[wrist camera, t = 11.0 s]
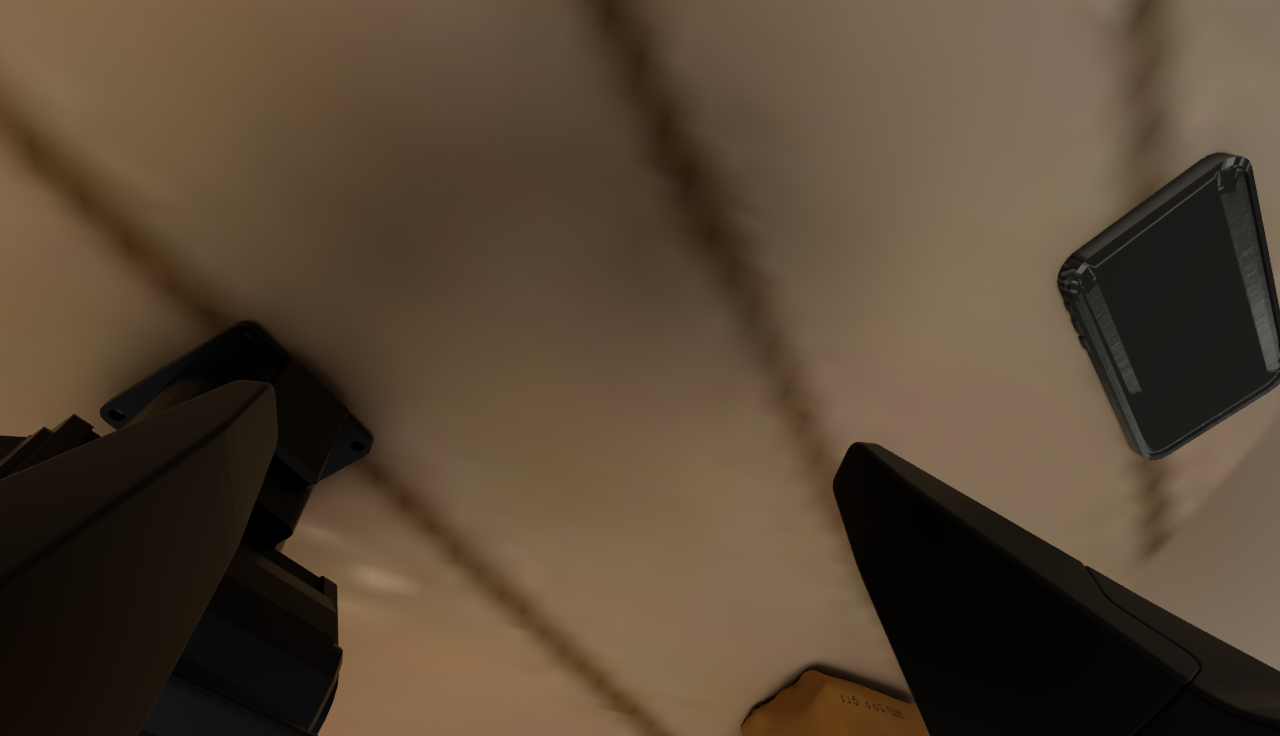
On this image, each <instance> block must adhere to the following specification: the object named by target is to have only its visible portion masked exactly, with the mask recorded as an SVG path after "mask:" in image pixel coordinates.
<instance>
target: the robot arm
mask: <svg viewBox="0 0 1280 736" xmlns="http://www.w3.org/2000/svg"><path fill="white" fill-rule="evenodd" d="M240 333H246V334H248V335H249V336H250V337H251V338H252V341H248V340H245V339H243V338H242V337H241V335H240ZM115 409H118V410H120V411H122V412H123V413H124V414H125V415H123V414H120V413H118V412H117V411H116V410H115ZM100 415H101V417H102V419H103V420H104V421H105V422H107V423H108V424H109V425H111V426H112V427H113V428H115V429H116V430H117V431H115V432H112V433H110V434H108V435H105V436H103V437H101V436H99V435H98V434H96V433H94V432H93V431H91V430H92V429H93V428H94V426H92V425H90V424H89V423H87V422H86V421H84V420H83V419H81V418H80V417H78V416H77V415H75V414H73V415H72V416H70V417H69V418H67V419H66V420H65V421H63V422H62V423H61V424H59V425H58V426H57V427H55V428H54V429H53V430H49V429H47V428H46V427H43V428H41V429H40V430H39V431H37V432H36V433H34V434H33V435H29V436H28V437H14V436H0V736H318V735H317V734H318V732H319V730H320V728H321V727H322V725H323V723H324V721H325V719H326V717H327V715H328V712H329V710H330V708H331V705H332V703H333V700H334V697H335V693H336V689H337V686H338V677H339V670H340V668H341V665H342V657H343V650H342V648H341V647H339V646H338V609H337V585H336V584H335V583H333V582H332V581H330V580H329V579H327V578H326V577H324V576H321V577H317V576H316V575H314V574H313V573H311V572H310V571H308V570H307V569H305V568H304V567H302V566H300V565H299V564H297V563H296V562H294V561H293V560H291V559H290V558H288V557H287V556H285V555H283V554H282V553H280V552H281V550H282V548H283V546H284V544H285V542H286V539H287V538H289V537H290V536H291V535H292V534H293V532H294V530H295V528H296V525H297V523H298V521H299V519H300V516H301V514H302V512H303V510H304V508H305V505H306V503H307V501H308V499H309V497H310V494H311V492H312V490H313V488H314V485H316V484H317V483H318V482H319V481H320V480H322V479H324V478H326V477H327V476H329V475H331V474H333V473H335V472H336V471H338V470H340V469H342V468H344V467H345V466H347V465H349V464H351V463H353V462H354V461H356V460H358V459H360V458H362V457H363V456H365V455H367V454H368V453H369V452H370V450H371V448H372V445H373V437H372V436H371V435H370V433H368V432H367V431H366V430H365V429H364V428H363V427H362V426H361V425H360V424H359V423H358V422H357V421H356V420H355V419H354V418H353V417H352V416H351V415H350V414H349V413H348V410H347V408H346V407H345V406H344V405H343V404H342V403H341V402H340V401H339V400H338V399H337V398H336V397H335V396H334V395H333V394H332V393H330V392H329V391H328V390H327V389H326V388H325V387H324V386H323V385H322V384H321V383H320V382H319V381H318V380H317V379H316V378H315V377H314V376H313V375H312V374H311V373H310V372H309V371H308V370H307V369H306V368H305V367H304V366H303V365H302V364H300V363H298V362H295V361H294V360H293V359H292V358H291V357H290V356H289V355H288V354H287V353H286V352H285V351H284V350H283V349H282V348H281V347H280V346H279V345H278V344H277V343H276V342H275V341H274V340H273V339H272V338H271V337H270V336H268V335H267V334H266V333H265V332H264V331H263V330H262V329H261V328H260V327H259V326H258V325H256V324H255V323H252V322H249V321H241V322H238V323H236V324H234V325H233V326H231V327H229V328H228V329H226V330H224V331H223V332H221V333H219V334H218V335H216V336H214V337H213V338H211V339H209V340H208V341H206V342H204V343H203V344H201V345H199V346H198V347H196V348H195V349H193V350H191V351H190V352H188V353H186V354H185V355H183V356H181V357H180V358H178V359H176V360H175V361H173V362H171V363H170V364H168V365H166V366H165V367H163V368H161V369H160V370H158V371H156V372H155V373H153V374H151V375H150V376H148V377H146V378H145V379H143V380H141V381H140V382H138V383H136V384H135V385H133V386H131V387H130V388H128V389H126V390H125V391H123V392H121V393H120V394H118V395H116V396H115V397H113V398H111V399H110V400H109V401H108V402H107V403H106V404H105V405H104V406H103V407H102V408H101V409H100ZM354 441H360V442H362V443H363V444H364V445H356V444H355V443H354ZM833 492H834V496H835V499H836V502H837V505H838V508H839V512H840V515H841V518H842V521H843V524H844V527H845V530H846V533H847V537H848V540H849V543H850V546H851V549H852V552H853V555H854V558H855V561H856V564H857V567H858V570H859V572H860V575H861V577H862V580H863V582H864V585H865V587H866V589H867V592H868V594H869V596H870V599H871V601H872V603H873V605H874V608H875V610H876V612H877V615H878V617H879V619H880V622H881V624H882V626H883V629H884V631H885V633H886V636H887V638H888V640H889V643H890V645H891V647H892V650H893V652H894V654H895V656H896V659H897V661H898V663H899V666H900V668H901V670H902V673H903V675H904V677H905V680H906V682H907V684H908V687H909V689H910V691H911V694H912V696H913V698H914V701H915V703H916V705H917V708H918V710H919V712H920V714H921V717H922V719H923V721H924V724H925V726H926V728H927V731H928V733H929V735H930V736H1280V671H1278V670H1276V669H1274V668H1273V667H1271V666H1268V665H1267V664H1265V663H1263V662H1261V661H1259V660H1257V659H1256V658H1254V657H1252V656H1250V655H1248V654H1246V653H1244V652H1243V651H1241V650H1239V649H1237V648H1235V647H1233V646H1231V645H1229V644H1228V643H1226V642H1224V641H1222V640H1220V639H1218V638H1216V637H1214V636H1213V635H1211V634H1209V633H1207V632H1205V631H1203V630H1201V629H1199V628H1198V627H1196V626H1194V625H1192V624H1190V623H1188V622H1186V621H1185V620H1183V619H1181V618H1179V617H1177V616H1176V615H1174V614H1172V613H1170V612H1168V611H1166V610H1165V609H1163V608H1161V607H1159V606H1157V605H1155V604H1153V603H1152V602H1150V601H1148V600H1147V599H1145V598H1143V597H1141V596H1139V595H1137V594H1136V593H1134V592H1132V591H1131V590H1129V589H1127V588H1125V587H1124V586H1122V585H1120V584H1118V583H1117V582H1115V581H1113V580H1111V579H1110V578H1108V577H1106V576H1104V575H1103V574H1101V573H1099V572H1097V571H1096V570H1094V569H1092V568H1091V567H1089V566H1084V565H1083V563H1082V562H1080V561H1078V560H1077V559H1075V558H1073V557H1071V556H1070V555H1068V554H1066V553H1065V552H1063V551H1061V550H1059V549H1058V548H1056V547H1054V546H1052V545H1051V544H1049V543H1047V542H1046V541H1044V540H1042V539H1040V538H1039V537H1037V536H1035V535H1034V534H1032V533H1030V532H1028V531H1027V530H1025V529H1023V528H1021V527H1020V526H1018V525H1016V524H1015V523H1013V522H1011V521H1009V520H1008V519H1006V518H1004V517H1002V516H1001V515H999V514H997V513H996V512H994V511H992V510H990V509H989V508H987V507H985V506H984V505H982V504H980V503H978V502H977V501H975V500H973V499H971V498H970V497H968V496H966V495H965V494H963V493H961V492H959V491H958V490H956V489H954V488H952V487H951V486H949V485H947V484H946V483H944V482H942V481H940V480H939V479H937V478H935V477H933V476H932V475H930V474H928V473H927V472H925V471H923V470H921V469H920V468H918V467H916V466H915V465H913V464H911V463H909V462H908V461H906V460H904V459H902V458H901V457H899V456H897V455H896V454H894V453H892V452H890V451H889V450H887V449H885V448H883V447H882V446H880V445H878V444H874V443H865V442H855V443H853V444H852V445H851V446H850V447H849V448H848V450H847V452H846V454H845V456H844V458H843V460H842V463H841V465H840V467H839V469H838V471H837V473H836V475H835V477H834V481H833Z"/></svg>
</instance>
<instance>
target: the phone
mask: <svg viewBox="0 0 1280 736" xmlns="http://www.w3.org/2000/svg"><path fill="white" fill-rule="evenodd" d="M1057 283H1058V287H1059V290H1060V292H1061V295H1062V297H1063V299H1064V301H1065V303H1066V306H1067V309H1068V311H1069V312H1070V314H1071V317H1072V319H1073V323H1074V325H1075V327H1076V329H1077V332H1078V334H1080V337H1081V338H1080V339H1081V342H1082V344H1083V346H1084V348H1085V350H1087V352H1088V354H1089V357H1090V359H1091V361H1092V363H1093V365H1094V368H1095V370H1096V372H1097V374H1098V376H1099V379H1100V381H1101V383H1102V385H1103V388H1104V390H1105V392H1106V394H1107V396H1108V399H1109V401H1110V403H1111V405H1112V408H1113V410H1114V412H1115V414H1116V416H1117V419H1118V421H1119V423H1120V425H1121V427H1122V430H1123V432H1124V434H1125V436H1126V439H1127V441H1128V443H1129V445H1130V447H1131V448H1132V449H1133V450H1134V451H1135V452H1136V453H1138V454H1139V455H1141V456H1142V457H1144V458H1145V459H1147V460H1158V459H1161V458H1163V457H1165V456H1167V455H1169V454H1171V453H1172V452H1174V451H1176V450H1177V449H1179V448H1180V447H1182V446H1183V445H1185V444H1187V443H1188V442H1190V441H1191V440H1193V439H1195V438H1196V437H1198V436H1199V435H1201V434H1203V433H1204V432H1206V431H1207V430H1209V429H1211V428H1212V427H1214V426H1215V425H1217V424H1219V423H1220V422H1222V421H1223V420H1225V419H1227V418H1228V417H1230V416H1231V415H1233V414H1235V413H1236V412H1238V411H1239V410H1241V409H1243V408H1244V407H1246V406H1247V405H1249V404H1251V403H1252V402H1254V401H1255V400H1257V399H1259V398H1260V397H1262V396H1263V395H1265V394H1267V393H1268V392H1270V391H1271V390H1273V389H1274V388H1275V387H1277V386H1278V385H1279V384H1280V309H1279V304H1278V298H1277V293H1276V288H1275V283H1274V278H1273V273H1272V267H1271V262H1270V257H1269V252H1268V247H1267V242H1266V237H1265V231H1264V226H1263V221H1262V216H1261V211H1260V206H1259V201H1258V195H1257V190H1256V185H1255V180H1254V175H1253V170H1252V166H1251V163H1250V161H1249V160H1248V159H1246V158H1245V157H1242V156H1237V155H1231V154H1226V153H1215V154H1211V155H1208V156H1207V157H1205V158H1203V159H1201V160H1200V161H1198V162H1197V163H1196V164H1194V165H1193V166H1191V167H1190V168H1189V169H1187V170H1186V171H1185V172H1183V173H1182V174H1181V175H1179V176H1178V177H1176V178H1175V179H1174V180H1172V181H1171V182H1170V183H1168V184H1167V185H1166V186H1164V187H1163V188H1161V189H1160V190H1159V191H1157V192H1156V193H1155V194H1153V195H1152V196H1150V197H1149V198H1148V199H1146V200H1145V201H1144V202H1142V203H1141V204H1140V205H1138V206H1137V207H1135V208H1134V209H1133V210H1131V211H1130V212H1129V213H1127V214H1126V215H1124V216H1123V217H1122V218H1120V219H1119V220H1118V221H1116V222H1115V223H1114V224H1112V225H1111V226H1109V227H1108V228H1107V229H1105V230H1104V231H1103V232H1101V233H1100V234H1099V235H1097V236H1096V237H1094V238H1093V239H1092V240H1090V241H1089V242H1088V243H1086V244H1085V245H1083V246H1082V247H1081V248H1079V249H1078V250H1077V251H1075V252H1074V253H1073V254H1072V255H1071V256H1070V257H1069V258H1068V259H1067V260H1066V261H1065V263H1064V264H1063V265H1062V267H1061V270H1060V272H1059V274H1058V281H1057Z"/></svg>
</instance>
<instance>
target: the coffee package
mask: <svg viewBox="0 0 1280 736" xmlns="http://www.w3.org/2000/svg"><path fill="white" fill-rule="evenodd" d="M741 730H742V732H743V735H744V736H930V735H929V733H928V731H927V728H926V726H925V724H924V721H923V719H922V717H921V714H920V712H919V710H918V708H917V707H916V706H912V705H910V704H908V703H905V702H903V701H901V700H898V699H894V698H892V697H889V696H887V695H884V694H882V693H879V692H877V691H874V690H872V689H869V688H867V687H865V686H862V685H859V684H856V683H853V682H850V681H847V680H843V679H840V678H836V677H832V676H828V675H825V674H823V673H820V672H818V671H815V670H809V671H806V672H805V673H803V674H802V676H801V678H800V679H799V681H798V682H797V683H795V684H794V685H792V686H789V687H786V688H784V689H783V690H781V691H780V693H779V694H778V695H777V696H776V697H775V698H774V699H773V700H772V701H770V702H769V703H767V704H764V705H761V706H760V708H758V709H756V710H754V711H752V715H751V716H750V717H748V718H747V719H746V721H745V722H744V723H743V725H742V728H741Z"/></svg>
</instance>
